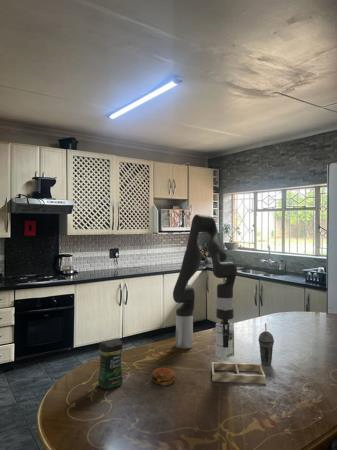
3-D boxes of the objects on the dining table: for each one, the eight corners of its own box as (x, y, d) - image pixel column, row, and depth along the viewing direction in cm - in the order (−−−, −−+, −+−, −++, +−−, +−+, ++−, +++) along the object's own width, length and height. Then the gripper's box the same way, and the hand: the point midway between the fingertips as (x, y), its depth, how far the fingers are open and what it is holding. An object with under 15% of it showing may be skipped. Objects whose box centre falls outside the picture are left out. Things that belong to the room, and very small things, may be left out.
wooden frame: (212, 381, 146) (212, 374, 146) (211, 368, 159) (211, 362, 159) (265, 383, 144) (265, 376, 144) (260, 370, 157) (260, 364, 157)
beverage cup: (275, 363, 166) (275, 321, 166) (273, 368, 159) (272, 325, 160) (259, 360, 169) (259, 319, 169) (257, 366, 163) (256, 323, 163)
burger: (172, 375, 153) (172, 364, 153) (177, 384, 144) (177, 373, 144) (150, 377, 151) (150, 366, 151) (153, 387, 142) (153, 375, 142)
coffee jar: (104, 392, 137) (104, 345, 137) (95, 384, 143) (95, 340, 143) (125, 385, 143) (125, 340, 143) (116, 378, 149) (116, 335, 149)
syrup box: (226, 359, 148) (226, 325, 148) (215, 355, 153) (215, 322, 153) (234, 356, 152) (234, 323, 152) (223, 352, 157) (223, 320, 157)
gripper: (215, 303, 160) (215, 338, 160) (217, 310, 146) (217, 349, 146) (232, 303, 159) (232, 339, 159) (235, 311, 145) (235, 350, 145)
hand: (225, 344), depth 153 cm, fingers closed on syrup box, 8 cm apart
